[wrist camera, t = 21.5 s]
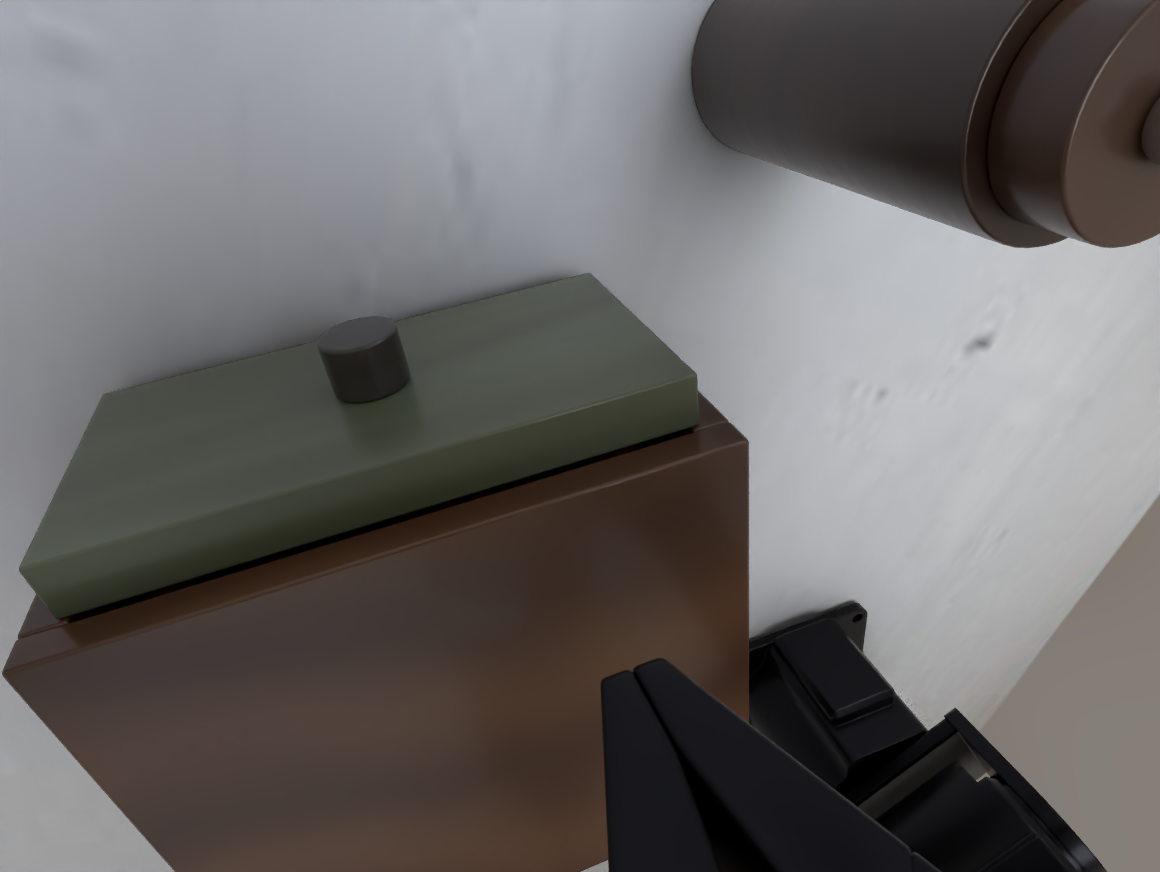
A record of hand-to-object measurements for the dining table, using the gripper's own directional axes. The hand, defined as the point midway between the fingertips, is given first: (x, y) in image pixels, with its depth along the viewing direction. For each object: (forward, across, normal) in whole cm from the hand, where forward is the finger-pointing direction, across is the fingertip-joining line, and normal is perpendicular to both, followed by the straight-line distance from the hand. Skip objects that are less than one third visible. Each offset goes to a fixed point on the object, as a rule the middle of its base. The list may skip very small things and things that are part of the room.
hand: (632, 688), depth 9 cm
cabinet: (+13, +2, +7) cm, 15 cm away
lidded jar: (+13, -9, -5) cm, 16 cm away
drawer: (+12, +2, +4) cm, 13 cm away
